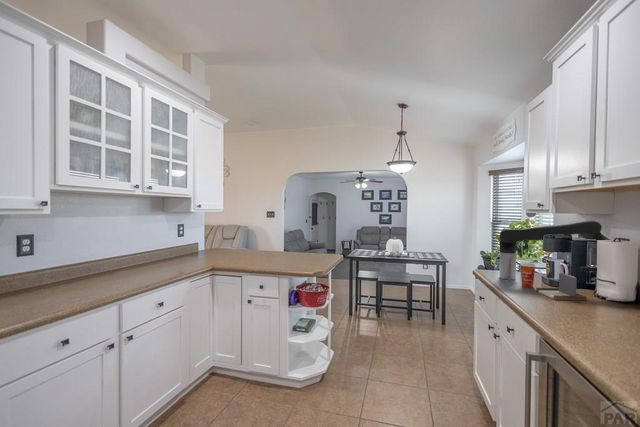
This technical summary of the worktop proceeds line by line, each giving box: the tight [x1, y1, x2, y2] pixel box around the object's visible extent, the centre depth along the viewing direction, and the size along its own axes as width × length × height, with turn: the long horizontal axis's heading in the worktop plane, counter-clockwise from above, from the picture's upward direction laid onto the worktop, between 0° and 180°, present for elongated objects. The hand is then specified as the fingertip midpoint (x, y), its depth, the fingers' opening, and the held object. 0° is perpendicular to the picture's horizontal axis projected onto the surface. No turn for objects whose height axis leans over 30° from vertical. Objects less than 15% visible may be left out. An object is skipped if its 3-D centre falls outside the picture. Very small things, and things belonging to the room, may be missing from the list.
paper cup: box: [519, 261, 536, 289], centre depth 183 cm, size 8×8×14 cm
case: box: [535, 287, 587, 301], centre depth 164 cm, size 16×15×2 cm
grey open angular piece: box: [538, 272, 577, 300], centre depth 164 cm, size 12×12×11 cm
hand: (581, 269), depth 163 cm, fingers closed
